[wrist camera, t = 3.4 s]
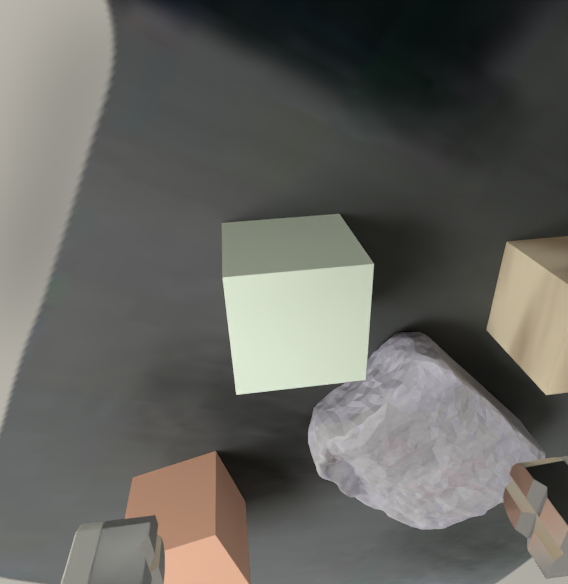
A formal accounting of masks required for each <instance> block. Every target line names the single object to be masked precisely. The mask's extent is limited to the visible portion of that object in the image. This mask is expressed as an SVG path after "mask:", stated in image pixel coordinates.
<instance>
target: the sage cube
mask: <svg viewBox="0 0 568 584" xmlns="http://www.w3.org/2000/svg"><path fill="white" fill-rule="evenodd" d="M373 271H374V263H373V262H372V260H371V259H370V257H369V256H368V254H367V253H366V252H365V250H364V249H363V247H362V246H361V244H360V243H359V241H358V240H357V239H356V237H355V236H354V234H353V233H352V231H351V230H350V228H349V227H348V225H347V224H346V223H345V221H344V220H343V218H342V217H341V215H340V214H330V215H317V216H305V217H292V218H279V219H267V220H254V221H241V222H228V223H222V275H223V286H224V294H225V303H226V311H227V320H228V328H229V337H230V345H231V354H232V362H233V371H234V379H235V388H236V395H238V394H247V393H256V392H264V391H273V390H282V389H291V388H300V387H308V386H317V385H326V384H335V383H343V382H352V381H361V380H366V368H367V354H368V340H369V326H370V313H371V299H372V285H373Z"/></svg>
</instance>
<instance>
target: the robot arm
mask: <svg viewBox="0 0 568 584" xmlns="http://www.w3.org/2000/svg"><path fill="white" fill-rule="evenodd" d="M510 476H511V477H512V479H513V480H512V481H511V482H510V483H509V484H508V485H507V486H506V487H505V490H504V494H503V500H504V507H505V510H506V513H507V515H508V518H509V520H510V521H511V523H512V525H513V526H514V528H515V530H517V531H518V532H520V533H521V534H523V535H524V536H526V537H527V538H528V540H527V549H528V551H529V552H530V554H531V556H532V557H533V559H534V560H535V562H536V564H537V565H538V567H539V568H540V570H541V572H542V573H543V575H544V576H545V578H546V579H547V578H555V577H563V576H568V456H564V457H557V458H555V457H553V458H546V459H540V460H534V461H528V462H521V463H516V464H515V465H513V466H512V468H511V471H510ZM157 531H158V522H157V519H156V516H155V515H151V516H143V517H135V518H128V519H120V520H112V521H102V522H95V523H88V524H81V525H80V527H79V528H78V530H77V532H76V533H75V537H74V540H73V544H72V547H71V551H70V554H69V557H68V561H67V564H66V568H65V571H64V575H63V578H62V582H61V584H164V575H165V551H164V544H163V540H162V537H161V536H159V535H157Z"/></svg>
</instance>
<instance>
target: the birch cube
mask: <svg viewBox="0 0 568 584" xmlns="http://www.w3.org/2000/svg"><path fill="white" fill-rule="evenodd" d="M486 330H487V331H488V332H489V333H490V335H491V336H492V337H493V338H494V339H495V340H496V341H497V342H498V343H499V344H500V345H501V347H502V348H503V349H504V350H505V351H506V352H507V353H508V354H509V355H510V356H511V357H512V358H513V360H514V361H515V362H516V363H517V364H518V365H519V366H520V367H521V368H522V369H523V370H524V372H525V373H526V374H527V375H528V376H529V377H530V378H531V379H532V380H533V381H534V382H535V384H536V385H537V386H538V387H539V388H540V389H541V390H542V391H543V392H544V393H545V394H546V395H551V394H559V393H567V392H568V236H563V237H552V238H540V239H529V240H517V241H507V242H506V247H505V251H504V255H503V260H502V264H501V268H500V273H499V277H498V282H497V286H496V290H495V295H494V299H493V303H492V308H491V312H490V316H489V321H488V325H487V329H486Z"/></svg>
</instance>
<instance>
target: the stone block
mask: <svg viewBox="0 0 568 584" xmlns="http://www.w3.org/2000/svg"><path fill="white" fill-rule="evenodd" d="M308 444H309V446H310V450H311V454H312V457H313V460H314V463H315V465H316V470H317V472H318V474H319V476H320V477H322V478H323V479H326V480H330V481H333V482H334V483H336V484H337V485H338V487H339V489H340V491H341V492H343V493H344V494H346V495H347V496H349V497H356V498H357V499H358V500H360V501H361V502H362V503H363V504H366V505H368V506H370V507H372V508H374V509H379V510H383V511H384V512H386V514H387V515H388V516H389V517H392V518H394V519H396V520H398V521H400V522H402V523H404V524H407V525H409V526H411V527H416V528H419V529H442V528H446V527H448V526H450V525H452V524H455V523H458V522H461V521H464V520H465V519H468V518H470V517H475V516H480V515H484V514H485V513H486V512H487V510H489V509H491V508H493V507H494V506H496V505H497V504H498V503H502V502H504V500H503V494H504V490H505V487H506V486H507V485H508V484H509V483H510V482H511V481H512V480H513V479H512V477H511V476H510V471H511V468H512V466H513V465H515V464H516V463H521V462H528V461H534V460H540V459H544V458H545V454H546V453H545V452H544V451H543V449H542V447H541V446H540V445H539V444H538V442H537V441H536V440H535V438H534V437H533V436H532V435H531V434H530V433H529V432H528V431H527V429H526V428H525V427H524V425H523V424H522V422H521V421H520V420H519V419H518V418H517V417H516V416H515V415H514V414H513V413H512V412H511V411H510V410H508V409H507V408H506V407H505V406H504V405H503V404H502V403H501V402H499V401H498V400H497V399H496V398H495V397H494V396H493V395H492V394H490V393H489V392H488V391H487V390H486V389H485V388H484V387H483V386H482V385H481V384H480V383H479V382H478V381H477V380H475V379H474V378H473V377H472V376H471V375H470V374H469V373H468V372H467V371H466V370H464V369H463V368H462V367H461V366H460V365H459V364H457V363H456V362H455V361H454V360H453V359H452V358H451V357H450V356H449V355H448V354H447V353H446V352H445V351H444V350H443V349H441V348H440V347H439V346H438V345H437V344H436V343H435V342H434V341H433V340H432V339H431V338H430V337H429V336H427V335H425V334H424V333H421V332H406V333H405V332H399V333H395V334H394V335H393V336H392V337H391V338H390V339H388V340H387V341H386V342H385V343H384V344H382V345H381V346H380V347H379V349H378V350H375V351H374V352H373V354H372V356H371V357H370V358H369V359H368V360H367V368H366V380H361V381H352V382H346V383H345V384H343V385H342V386H340V387H338V388H336V389H334V390H333V391H331V392H330V393H329V394H328V395H327V396H326V397H325V398H323V399H322V400H321V401H319V403H318V404H317V405H316V406H315V407H314V410H313V415H312V419H311V422H310V425H309V430H308Z"/></svg>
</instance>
